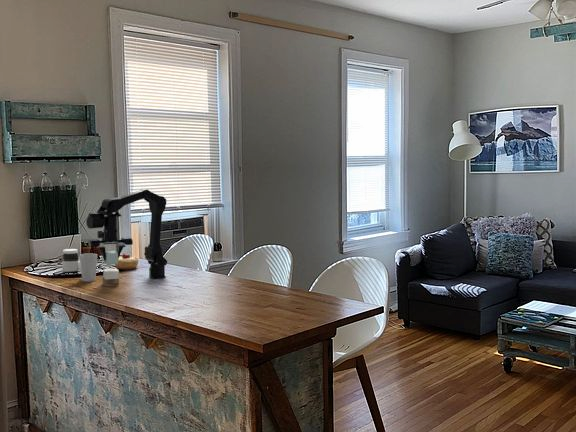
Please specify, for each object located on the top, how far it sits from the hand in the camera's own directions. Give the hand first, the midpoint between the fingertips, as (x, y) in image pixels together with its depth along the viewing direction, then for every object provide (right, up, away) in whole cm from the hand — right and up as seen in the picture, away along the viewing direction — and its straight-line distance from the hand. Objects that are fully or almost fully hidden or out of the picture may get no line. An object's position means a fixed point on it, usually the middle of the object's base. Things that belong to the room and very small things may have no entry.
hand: (111, 260), depth 282 cm
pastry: (-3, -7, +38) cm, 39 cm away
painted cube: (0, -1, 0) cm, 1 cm away
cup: (-13, -10, +10) cm, 19 cm away
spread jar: (-25, -8, +24) cm, 35 cm away
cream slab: (0, -8, +1) cm, 8 cm away
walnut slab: (0, -11, +1) cm, 11 cm away
